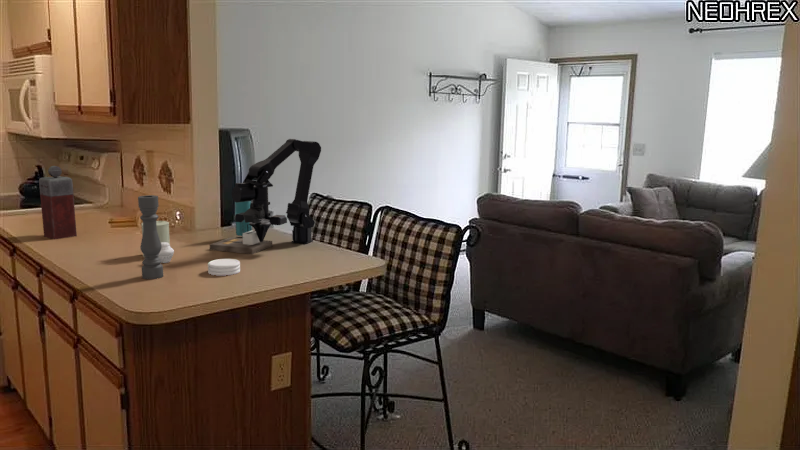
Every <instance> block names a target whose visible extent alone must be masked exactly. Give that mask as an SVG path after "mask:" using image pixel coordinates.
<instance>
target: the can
mask: <svg viewBox="0 0 800 450" xmlns="http://www.w3.org/2000/svg"><path fill="white" fill-rule="evenodd" d="M140 225H141V235H143V222H141V224H140ZM156 225H157V232H158V235H159V239H160V242H161V243H162V242H167V243H169V244H170V245H171V241H170V222H169V221H167V220H156ZM142 257H143V258H145V257H144V254H143V253H142Z"/></svg>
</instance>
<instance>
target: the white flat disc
mask: <svg viewBox="0 0 800 450" xmlns="http://www.w3.org/2000/svg"><path fill="white" fill-rule="evenodd" d="M240 272H241V261H240V260H238V259H236V258H219V259H218V258H217V259H214V260H210V261H209V262H208V263H207V273H208V274H209V275H210V274H211V275H210V276H214V275H216V277H217V276H218V277H223V276H224V277H225V276H226V275H228V276H234V275H237V274H239V273H240ZM233 274H234V275H233Z"/></svg>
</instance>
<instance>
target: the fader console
mask: <svg viewBox="0 0 800 450" xmlns="http://www.w3.org/2000/svg"><path fill="white" fill-rule="evenodd" d="M272 247H273V240H265V239H264V240H263V242H259V243H256V244H254V245H248V244H243V237H242V238H241V237H233V236H232V237H228V238H225V239H222V240H219V241H217V242H216V241H215V242H213V243H210V244H209V251H218V252H219V251H220V252H228V253H237V254H250V255H253V254H256V253H258V252H261V251H265V250H266V249H269V248H272Z"/></svg>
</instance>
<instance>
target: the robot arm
mask: <svg viewBox="0 0 800 450" xmlns="http://www.w3.org/2000/svg"><path fill="white" fill-rule="evenodd" d="M295 152H298V158H299V161H300V166H299V172H298V178H297V183H296V189H295V195H294V200H292V202H288V203H287V207H286V208H287V209H286V212H285V214H286V215H285V214H284V215H283V214H275V215H272V216H271V212H270V211H269V210H270V209H269V205H271V201H269V188H272V187H273V186H274V185H273V183H271V182H270V179H271V178H272V176H273V175H274V173H275V171H276V169H277V167H279V166H280V165H281V164H282V163H283V162H285V161H286V160H287V159H288V158H289V157H290V156H291V155H293V154H294V153H295ZM321 152H322V146H321V144H320V143H319V142H318V141H313V140H301V139H300V140H299V139H297V138H288V139H286V141H285V142H284V143H283V144H282V145H280V147H278V148H277V149H276V150H275V151H274V152H272V153H271V154H270V155H269V156H268V157H267V158H265V159H262V160H260V161H258V162H256V163H254V164H252V165H250V167H249V169H248V172H247V174H246V176H245V178H244V180H243V181H242V182H235V183H234V187H233V188H232V190H231V197H232V198H231V199H232V200H233V202H234V203H235V202H236V203H238V202H246V201H251V203H250V209H248V210H247V211H246V212H242V213H239V214H236V215H235V214H234V223H236V222H243V221H244V220H245V222H246V223H248V222H250V223H249V225H251V226H252V229H254V231H256V234H257V236H258V239H259V241H260V242H263V240H265V238H266V235H267V233H268V231H269V228H270V227H271V225H272V226H281V225H286V224H287V223H288V221H289V224H290V226H291V227H293V228H292V230H291V231H292V232H291V233H292V234H291V235H292V241H291V243H292V244H293V243H295V244H304V245H306V244H308V243H311V242H312V243H313V241H314V239H312V228H314V227H315V223H316V221H315V220H314V219H313V218H312V217H311V216H310V207H309V203H308V199H309V194H310V187H311V182H312V176H313V171H314V166H315V164H316V162H317V161H318V160H319V159H320V156H321Z"/></svg>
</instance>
